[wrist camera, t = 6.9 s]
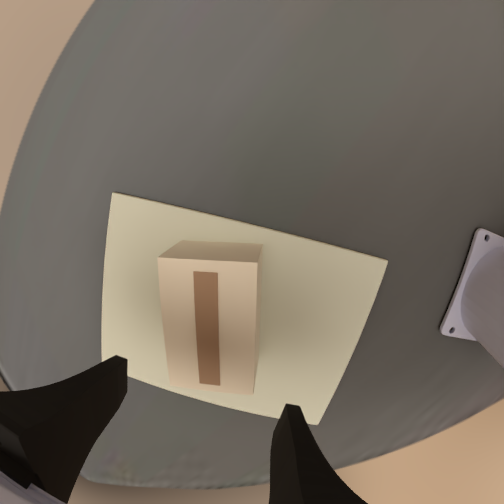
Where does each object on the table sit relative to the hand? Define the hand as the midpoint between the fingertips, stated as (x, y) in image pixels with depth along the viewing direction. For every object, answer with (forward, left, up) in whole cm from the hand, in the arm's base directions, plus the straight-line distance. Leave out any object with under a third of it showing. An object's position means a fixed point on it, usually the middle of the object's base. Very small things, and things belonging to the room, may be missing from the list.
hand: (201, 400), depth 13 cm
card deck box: (+1, -1, -8) cm, 8 cm away
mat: (0, +1, -8) cm, 8 cm away
